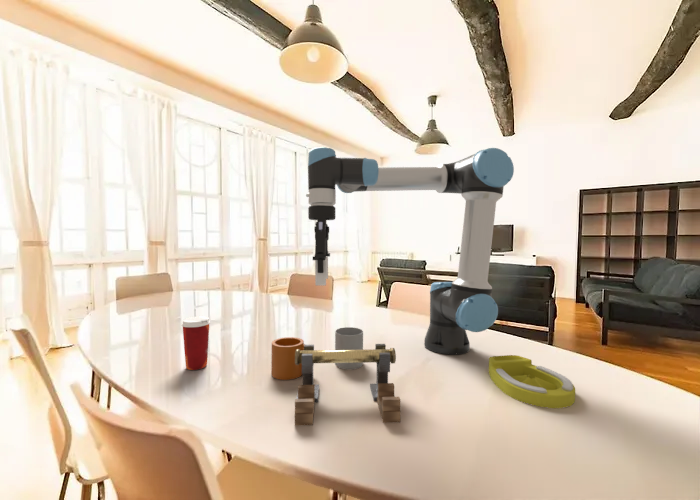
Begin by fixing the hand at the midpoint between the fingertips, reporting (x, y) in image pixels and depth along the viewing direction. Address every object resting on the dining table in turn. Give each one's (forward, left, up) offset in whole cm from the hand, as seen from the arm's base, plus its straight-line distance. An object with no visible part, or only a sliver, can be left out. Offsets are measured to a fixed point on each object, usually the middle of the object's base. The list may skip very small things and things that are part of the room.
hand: (322, 281), depth 90 cm
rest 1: (+3, +22, -26) cm, 34 cm away
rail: (-6, +14, -18) cm, 23 cm away
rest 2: (-15, +22, -26) cm, 37 cm away
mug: (+8, +1, -26) cm, 27 cm away
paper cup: (+37, -5, -26) cm, 45 cm away
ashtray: (-53, +12, -26) cm, 61 cm away
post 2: (-15, +14, -26) cm, 33 cm away
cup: (-8, -5, -26) cm, 28 cm away
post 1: (+3, +14, -26) cm, 29 cm away
